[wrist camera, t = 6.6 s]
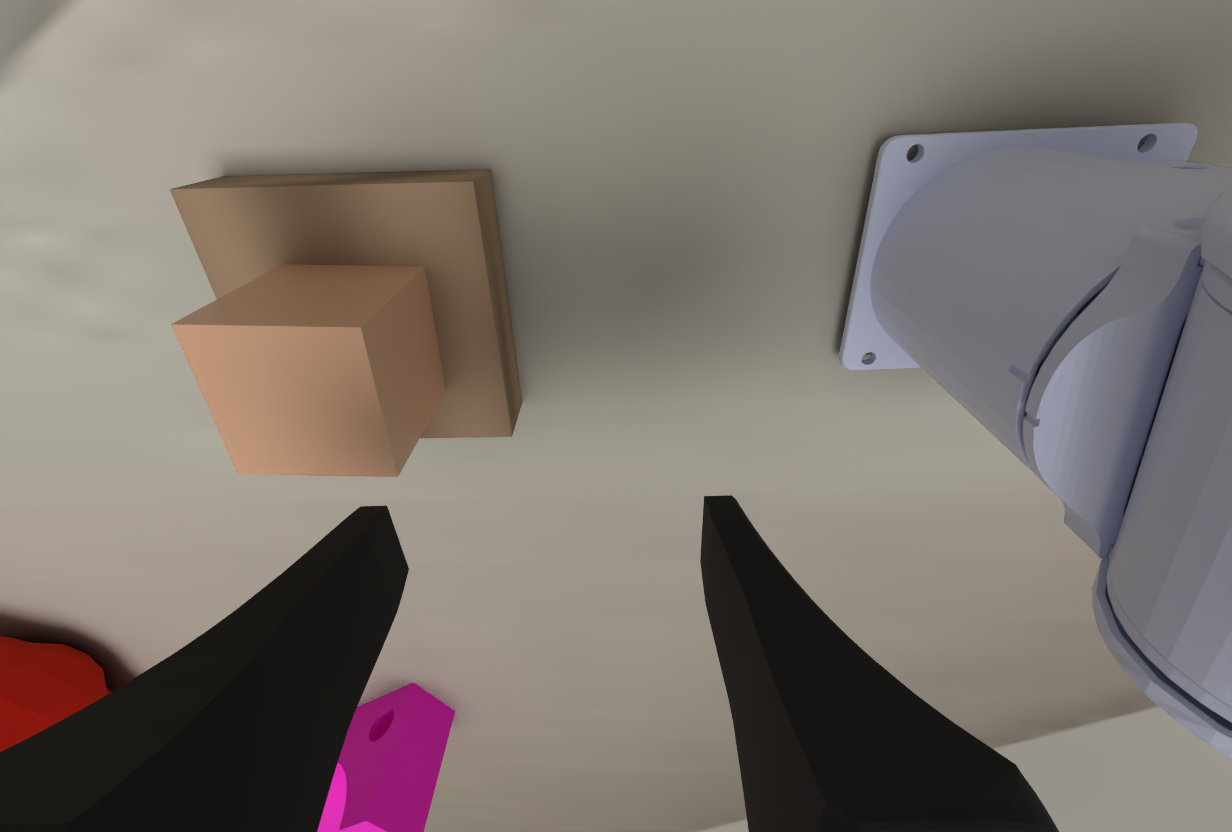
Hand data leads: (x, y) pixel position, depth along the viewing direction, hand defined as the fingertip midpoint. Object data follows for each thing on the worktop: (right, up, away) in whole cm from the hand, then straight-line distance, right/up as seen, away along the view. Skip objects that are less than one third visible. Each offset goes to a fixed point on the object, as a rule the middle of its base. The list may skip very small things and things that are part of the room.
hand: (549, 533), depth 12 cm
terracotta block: (-7, +6, +6) cm, 11 cm away
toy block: (-16, -19, +25) cm, 35 cm away
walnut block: (-7, +7, +8) cm, 13 cm away
